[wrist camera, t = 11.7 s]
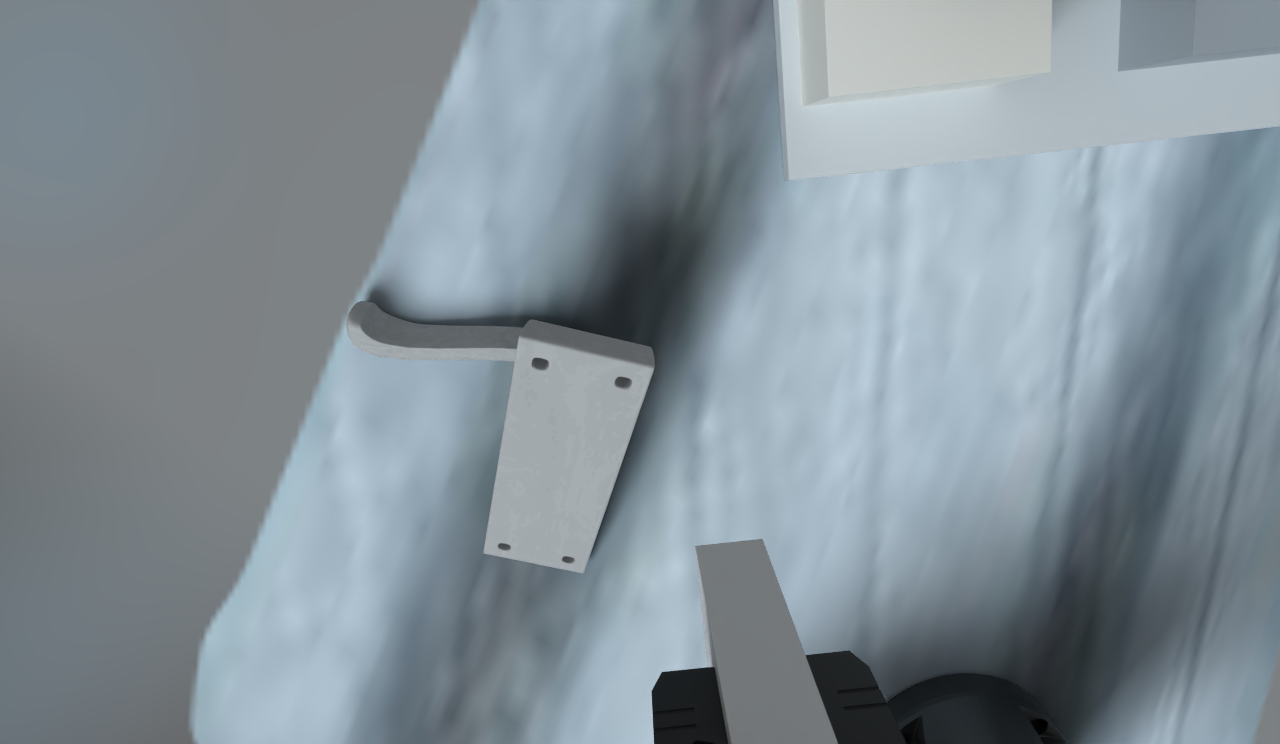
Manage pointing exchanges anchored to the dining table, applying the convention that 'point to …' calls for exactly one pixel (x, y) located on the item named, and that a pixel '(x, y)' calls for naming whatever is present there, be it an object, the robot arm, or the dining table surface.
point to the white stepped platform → (1014, 77)
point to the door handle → (539, 423)
